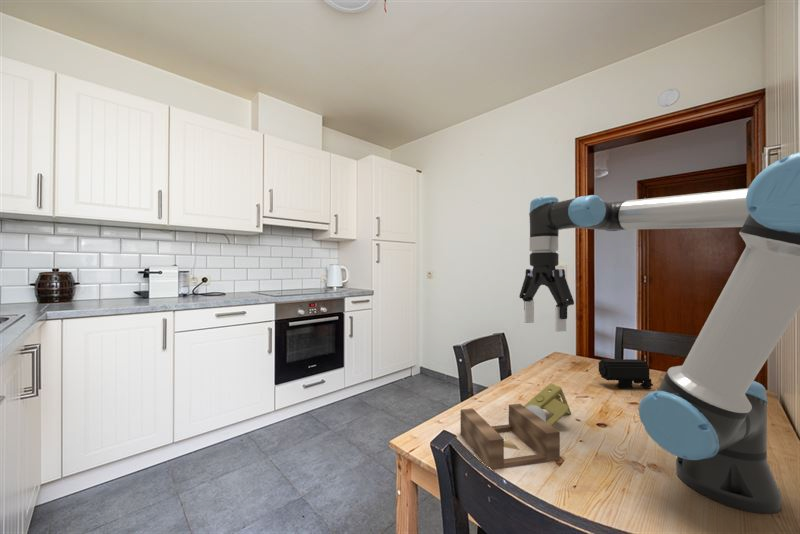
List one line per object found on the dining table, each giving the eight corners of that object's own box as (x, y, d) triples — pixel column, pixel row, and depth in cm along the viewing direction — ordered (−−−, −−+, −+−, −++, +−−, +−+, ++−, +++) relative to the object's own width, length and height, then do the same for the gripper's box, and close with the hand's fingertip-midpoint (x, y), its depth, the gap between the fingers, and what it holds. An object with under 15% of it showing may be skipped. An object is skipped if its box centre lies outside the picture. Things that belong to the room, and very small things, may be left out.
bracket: (590, 423, 93) (580, 396, 91) (557, 455, 89) (545, 427, 86) (560, 407, 103) (550, 382, 101) (529, 435, 98) (517, 409, 96)
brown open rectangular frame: (559, 461, 75) (559, 431, 75) (489, 472, 71) (489, 440, 71) (519, 428, 90) (519, 403, 90) (460, 435, 86) (460, 409, 86)
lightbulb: (534, 441, 81) (514, 408, 91) (545, 453, 83) (524, 420, 93) (554, 428, 80) (532, 396, 90) (565, 441, 82) (542, 408, 92)
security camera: (657, 390, 119) (657, 363, 119) (607, 389, 119) (607, 363, 119) (643, 383, 126) (643, 358, 126) (596, 383, 126) (596, 358, 126)
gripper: (589, 250, 80) (589, 334, 80) (528, 254, 104) (528, 319, 104) (563, 249, 78) (563, 336, 78) (508, 254, 102) (508, 320, 102)
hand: (543, 326), depth 91 cm, fingers open, 13 cm apart
